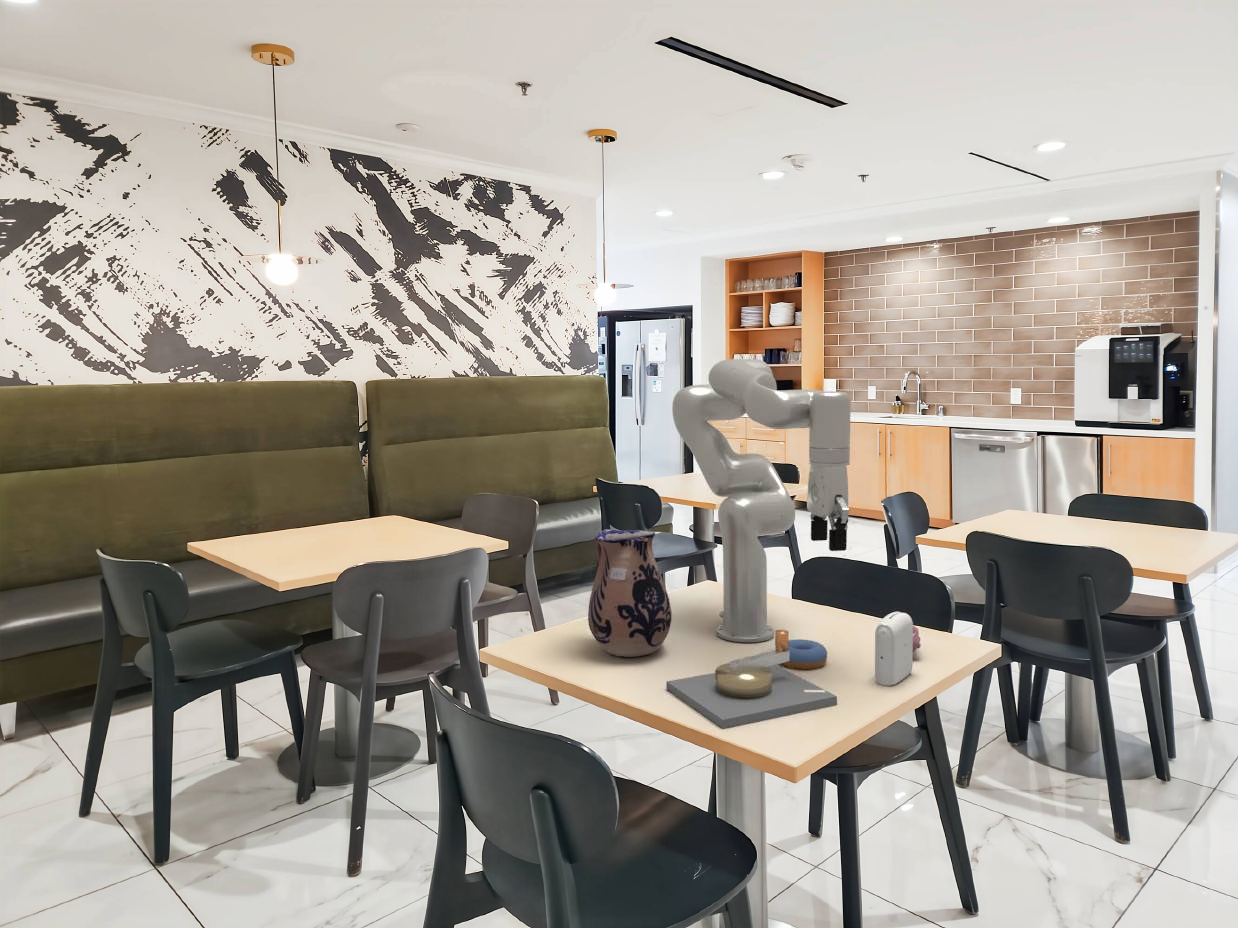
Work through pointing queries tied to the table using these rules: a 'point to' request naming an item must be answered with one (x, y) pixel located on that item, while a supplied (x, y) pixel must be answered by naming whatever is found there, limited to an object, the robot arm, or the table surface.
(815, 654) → the doughnut
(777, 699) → the stand
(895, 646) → the photo printer
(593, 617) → the ceramic pitcher
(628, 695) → the table surface
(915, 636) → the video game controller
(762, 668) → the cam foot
